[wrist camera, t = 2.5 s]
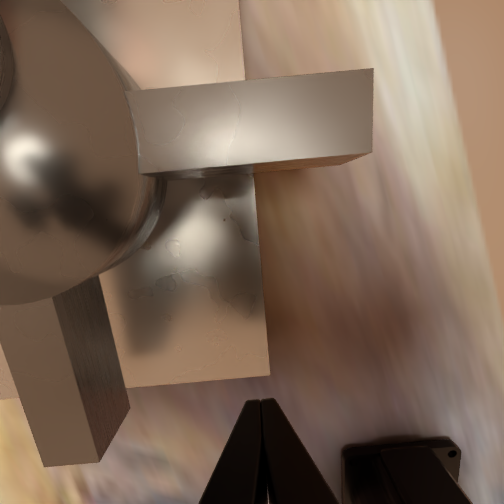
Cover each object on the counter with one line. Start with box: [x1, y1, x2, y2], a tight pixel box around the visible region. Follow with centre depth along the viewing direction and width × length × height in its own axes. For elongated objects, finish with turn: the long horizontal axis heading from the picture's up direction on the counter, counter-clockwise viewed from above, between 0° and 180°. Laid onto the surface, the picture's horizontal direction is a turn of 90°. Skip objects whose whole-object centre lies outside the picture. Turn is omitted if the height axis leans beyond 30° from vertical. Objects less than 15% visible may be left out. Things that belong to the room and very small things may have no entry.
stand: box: [0, 0, 270, 399], centre depth 7 cm, size 24×12×5 cm, turn 5°
